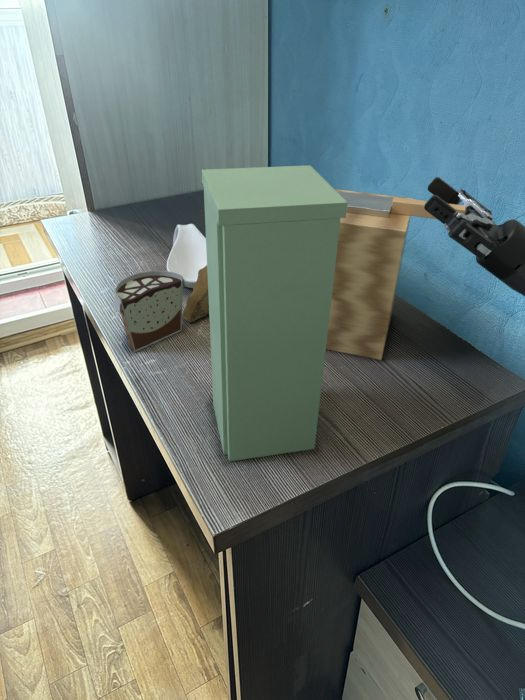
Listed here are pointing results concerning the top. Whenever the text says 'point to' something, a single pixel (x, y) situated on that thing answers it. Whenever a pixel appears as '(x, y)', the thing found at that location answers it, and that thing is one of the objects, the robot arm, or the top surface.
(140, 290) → the mint chocolate cake slice
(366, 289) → the block
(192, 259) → the spoon rest
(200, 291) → the rock
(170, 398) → the top surface
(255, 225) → the tall green cabinet
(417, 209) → the knife
